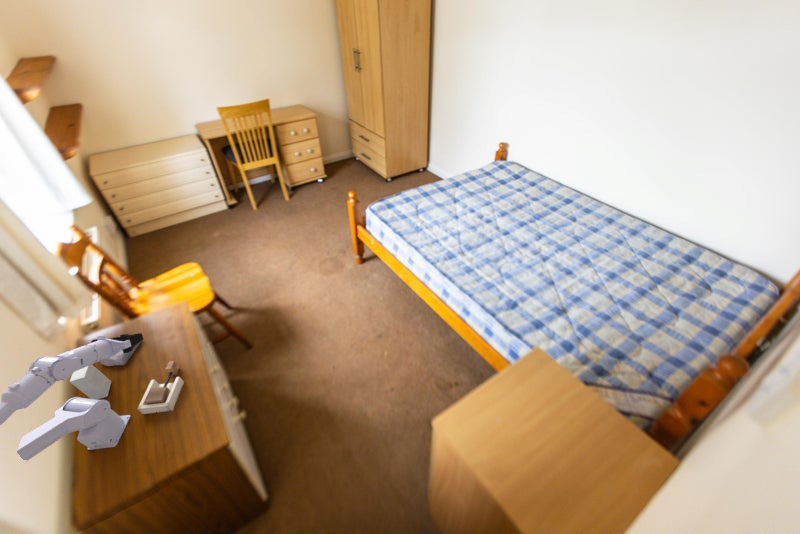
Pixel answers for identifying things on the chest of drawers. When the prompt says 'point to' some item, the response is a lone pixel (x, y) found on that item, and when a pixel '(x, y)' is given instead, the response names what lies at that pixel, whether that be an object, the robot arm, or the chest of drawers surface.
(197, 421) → the chest of drawers surface
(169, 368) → the corded block
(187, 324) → the chest of drawers surface
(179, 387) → the tray
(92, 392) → the skincare box
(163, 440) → the chest of drawers surface
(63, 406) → the robot arm
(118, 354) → the stone block
